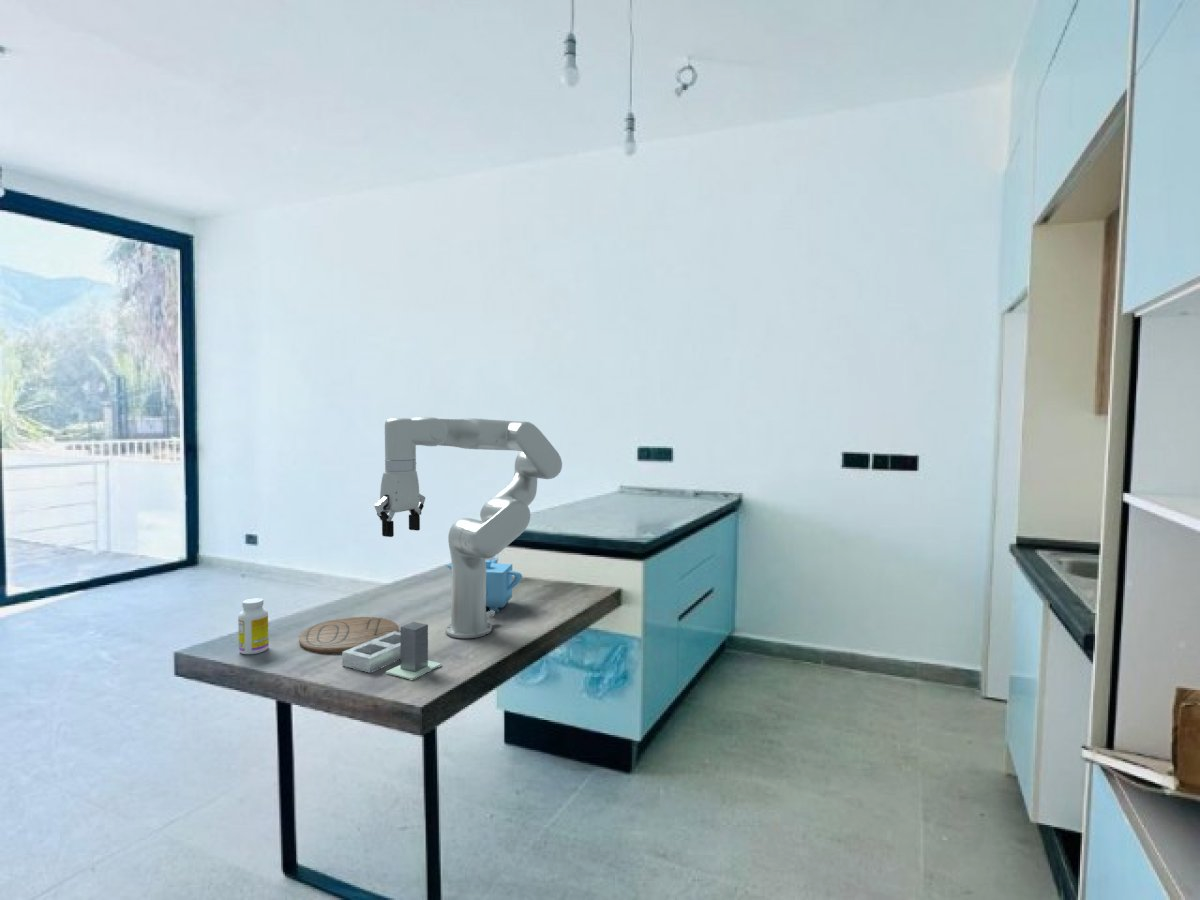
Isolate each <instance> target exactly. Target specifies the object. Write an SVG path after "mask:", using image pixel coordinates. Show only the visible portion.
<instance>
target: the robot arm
mask: <svg viewBox="0 0 1200 900" xmlns="http://www.w3.org/2000/svg"><path fill="white" fill-rule="evenodd" d="M417 446H422V447H423V446H425V447H437V446H439V447H440V446H441V447H445V446H446V447H453V448H454V447H455V448H460V449H467V450H483V451H484V450H491V451H517V452H519V453H518V454H517V455H516V457H515V460H514V473H513V477H512V480H511V481H510V482H509V483H508V485H507V486H505V487H504V488H503V489H501V490H500V491H499V492H498V493H496V494H495V495H493V497H491V498H490V499H489V500H487V502H485V503H484V505H482V507H481V509H480V514H479V517H480V519H481V520H478V519H474V518H470V517H469V518H468V517H465V518H461V519H458V520H457V521H455V522H453V524H452V525H451V526H450V528H449V532H448V537H447V538H448V542H447V543H448V548H449V554H450V561H451V562H450V563H451V564H450V565H451V569H450V571H451V578H450V579H451V581H450V583H451V590H450V591H451V593H450V595H451V596H450V597H451V602H450V604H451V605H450V607H451V610H450V614H451V615H450V618H451V620H450V624H449V625H446V627H445V634H446V635H447V636H448V637H451V638H455V639H476V638H481V637H484V636H486V634H487V635H488V634H489V633H491V632H492V625H491V623H489V622H488V620H489V619H490V618H493V617H494V616H495V615H496V612H494V611H493V610H490V611H489V610H488V611H487V607H486V561H485V560H488V559H490V558H491V559H492V558H493V557H495V556H497V555H498V554H499V553H501V552H502V551H503V550H505V549H506V548H507V547H508V546H509V545H510V544H511V543H512V542H514V541H515V540H516V539H518V537H520V536H521V534H523V533H524V532H525V531H526V529H527V528H528V526H529V524H530V521H531V510H530V508H529V505H531V504H532V502H533V501H534V499H535V498H536V496H537V489H538V479H543V480H552V479H555V478H556V477H558V476H559V475H560V474H561V472H562V469H563V460H562V457H561V455H560V454H559V452H558V450H556V449H555V447H554V446H553V444H552V443H551V442H550V441H549V439H548V438H547V437H546V436H545V435H544V434H543V432H542V431H541V430H540V429H539V428H538V427H537V426H536V425H535V424H533V423H532V422H530V421H518V420H517V421H516V420H515V421H514V420H502V419H501V420H500V419H488V418H487V419H484V418H450V419H449V418H437V417H429V416H428V417H427V416H417V417H412V418H406V417H405V418H404V417H403V418H400V417H399V418H397V417H396V418H395V417H394V418H393V417H392V418H388V419H386V420H385V422H384V465H385V466H384V471H385V472H382V477H381V482H380V491H379V500H378V502H377V503H375V504H374V509H375V512H376V516H378V518H379V520H380V522H381V535H382V536H383V537H386V538H393V537H394V535H395V534H394V533H395V532H394V525H395V524H394V520H393V517H394V516H395V514H396V513H401V512H406V511H408V512H409V513H410V514H408V530H410V531H420V529H421V524H420V523H421V518H420V517H421V515H422V510H423V508H424V505H425V502H426V496H424V495H422V494H421V493H420V484H419V477H418V471H417V453H416V452H417V450H416V449H417Z"/></svg>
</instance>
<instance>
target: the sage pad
mask: <svg viewBox="0 0 1200 900" xmlns="http://www.w3.org/2000/svg"><path fill="white" fill-rule="evenodd" d="M440 665H441V666H442V663H441V662H437V661H432V660H428V666H427V667H425V668H423V669H421V670H419V671H417V672H412V671H407V670H403V669H401V664H399V665H397V666H395V667H393V668H390V669H389V670H386V671H385V674H386V673H387V674H392V675H396V676H400V677H404V678H408V679H414V678H416V677H418V676H420V675H422V674H424V673H426V672H428V671H430V670H432V669H435V668H436V667H438V666H440ZM435 670H436V669H435ZM387 674H386V675H387Z"/></svg>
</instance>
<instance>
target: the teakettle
mask: <svg viewBox="0 0 1200 900" xmlns="http://www.w3.org/2000/svg"><path fill="white" fill-rule="evenodd" d="M498 560H499V557H494V558H492V560H489V559H485V561H486V608H488V611H489V610H493V611H498V610H499V611H500V609H499V608H504V607H505V606H506V605H507V604H508V603H509V602H510V600H511V599H512V598H513V588H515V587H516V586H517V585H518V584H519V583H520V582H521V581H522V578H523V574H522V573H521V572H519V571H516V570H513V564H512V563H498ZM444 566H445V567H447V568H449V570H451V564H444ZM513 576H514V579H513ZM499 611H498V612H499Z"/></svg>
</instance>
